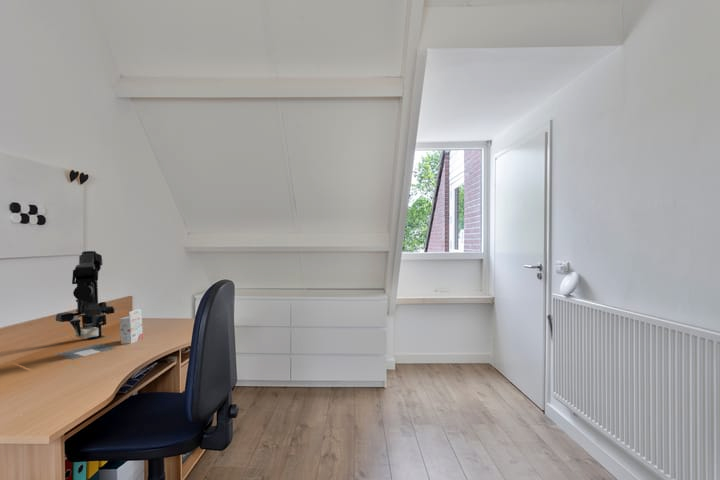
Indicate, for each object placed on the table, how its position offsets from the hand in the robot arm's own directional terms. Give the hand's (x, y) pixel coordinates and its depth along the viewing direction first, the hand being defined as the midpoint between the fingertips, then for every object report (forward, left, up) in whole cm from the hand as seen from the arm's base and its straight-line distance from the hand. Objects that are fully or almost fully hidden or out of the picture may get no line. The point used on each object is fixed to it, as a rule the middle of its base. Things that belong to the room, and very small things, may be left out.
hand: (87, 334), depth 148 cm
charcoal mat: (-3, +1, -8) cm, 9 cm away
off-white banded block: (0, 0, -1) cm, 1 cm away
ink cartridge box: (-1, +18, -8) cm, 20 cm away
